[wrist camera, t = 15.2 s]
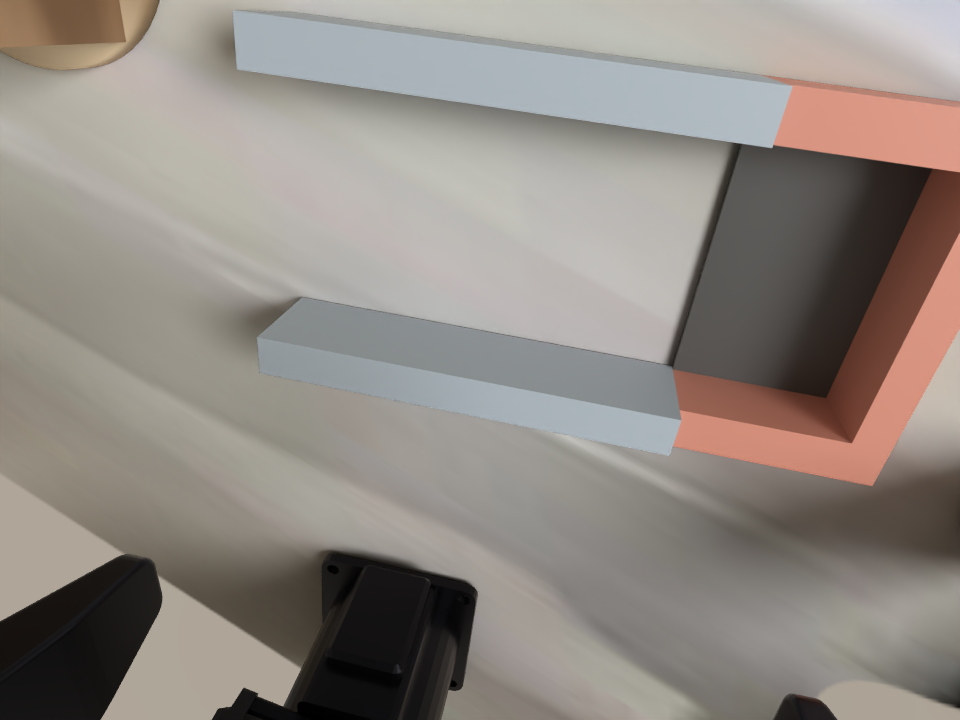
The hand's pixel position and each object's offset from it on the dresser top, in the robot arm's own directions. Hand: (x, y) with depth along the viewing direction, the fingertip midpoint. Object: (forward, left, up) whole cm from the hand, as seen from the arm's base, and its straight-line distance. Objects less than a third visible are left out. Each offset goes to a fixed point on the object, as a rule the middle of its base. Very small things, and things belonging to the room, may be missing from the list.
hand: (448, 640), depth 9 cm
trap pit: (+2, -7, -12) cm, 14 cm away
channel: (+2, +2, -12) cm, 12 cm away
